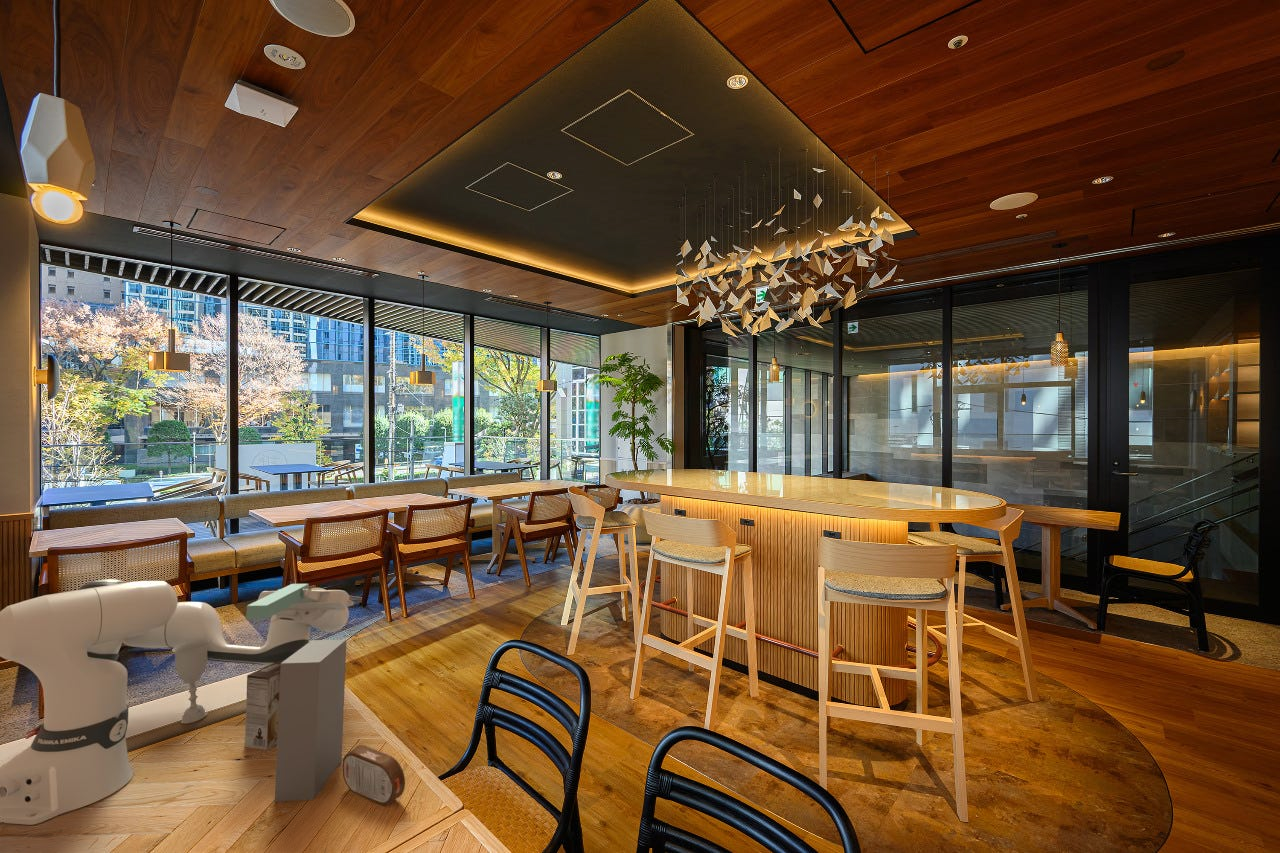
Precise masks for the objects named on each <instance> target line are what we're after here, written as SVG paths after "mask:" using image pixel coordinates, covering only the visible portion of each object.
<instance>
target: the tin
mask: <svg viewBox="0 0 1280 853" xmlns="http://www.w3.org/2000/svg"><path fill="white" fill-rule="evenodd" d="M342 758H343V759H342V778H343V782H344V783H345V785H346V786H347V788H348V789H349V791H351V792H352V793H354V794H356V795H357V796H360V797H363V798H365V799H367V800H368V801H371V802H374V803H375V804H378V805H380V806H388V805H390V804H391V803H392V802H394V801H395V800H396V799H397V798H398V799H399V798H400V797H401V796H402V795H403V793H404V791H405V787H406V777H405V773H404V770H403V767H402V766H401V765H400V763H399V761H398V760H397V759H396V758H395V757H394V756H392V755H390V754H388V753H385V752H382V751H380V750H378V749H375V748H372V747H370V746H367V745H364V744H359V745H357V746H355V747H354V748H353V749H351V750H350V751H348V752H347V753H346V754H345V756H344V757H342Z"/></svg>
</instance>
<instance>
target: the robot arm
mask: <svg viewBox="0 0 1280 853" xmlns="http://www.w3.org/2000/svg"><path fill="white" fill-rule="evenodd" d="M280 589H281V588H279V589H277V590H264V591H261V592H260V594H259V595H258V599H257V601H258V600H260V599H262V598H264V597H266V596H268V595H270V594H272V593H274V592H276V591H278V590H280ZM300 596H301V597H302V598H303V599H302V600H300V601H298V602H296V603H295V604H293V605H291V606H289V607H287V608H286V609H284V610H282V611H280V612H279V613H277V614H275V615H273V616H271V617H270V620H269V622H270V623H269V628H268V632H267V638H266V641H265V643H264V645H262V646H249V645H240V644H238V645H237V644H230V643H227V641H226V640H225V637H224V633H223V629H222V623H221V619H220V616H219V614H218V612H217V611H216V609H215V608H214V607H213V606H211V605H210V604H208V603H207V602H202V601H178V595H177V592H176V590H175V589H174V587H173V586H172V585H171V584H170V583H168V582H166V581H164V580H133V581H128V582H127V581H123V580H120V579H116V578H104V579H98V580H96V581H91V582H86V583H85V584H83V585H81V586H80V587H79V588H78V590H71V591H65V592H58V593H52V594H45V595H42V596H37V597H34V598H30V599H27V600H23V601H20V602H17V603H14V604H10V605H7V606H6V607H4V608H3V609H2V610H0V658H2V659H5V660H7V661H12V662H14V663H17V664H20V665H22V666H24V667H26V668H27V669H29V670H30V671H31V672H32V673H34V675H35V676H36V677H37V678H38V680H39V682H40V684H41V687H42V692H43V722H42V723H41V724H39V725H38V727H35V728H33V729H32V730H30V731H28V732H26V733H25V735H27V736H26V737H25V739H26V740H28V739H30V738H32V737H34V739H33V741H32V742H31V745H30V746H28V747H27V748H25V749H24V750H22V751H21V752H20V753H18V754H17V755H16V756H14V757H13V758H12V759H10V760H9V761H7V762H6V763H4V764H3V765H2V766H0V822H4V823H3V824H16V825H25V826H26V825H27V826H30V825H31V826H32V825H37V824H40V823H43V822H45V821H47V820H49V819H52V818H55V817H57V816H58V815H59V816H60V815H62V814H65V813H68V812H71V811H75V810H77V809H80V808H82V807H85V806H88V805H92V804H94V803H97V802H98V801H101V800H103V799H104V798H106V797H109V796H110V795H112V794H115V792H118V791H119V790H120V789H122V788H124V787H125V785H127V784H128V783H129V782H130V781H131V780H132V778H133V775H134V772H133V771H134V770H133V768H132V765H131V762H130V759H129V754H128V748H127V739H126V738H127V737H126V734H127V731H128V725H129V705H128V704H127V692H128V691H127V690H128V688H127V687H128V670H127V668H126V667H125V665H123V664H122V663H121V662H119V661H117V660H118V658H119V656H120V654H119V652H120V649H121V647H122V644H123V645H126V646H128V647H136V648H148V649H149V648H150V649H151V648H153V649H158V648H159V649H160V648H161V649H162V648H163V649H164V648H165V649H166V648H174V647H176V646H177V645H179V644H182V643H185V642H188V641H192V640H197V639H208V640H209V643H208V645H207V659H208V661H211V662H221V663H231V664H233V663H235V664H246V665H247V664H248V665H261V666H269V665H271V664H273V663H275V662H277V661H280V660H286V659H287V658H289V657H290V656H291V655H293V654H294V653H295V652H297V651H298V650H299V649H301V648H302V647H304V646H305V645H306V644H308V643H309V642H310V640H309V639H310V634H311V627H312V628H315V629H317V630H320V631H323V632H326V633H335V632H338V631H340V630H341V629H343V627H345V625H346V624H347V622H348V620H349V618H350V617H349V616H350V611H349V607H353V606H354V605H355V602H354V601H353V600H350V595H349V593H348V592H347V591H345V590H342V589H328V590H327V589H324V588H323V587H322V588H321V587H313V588H309V589H302V590H301V593H300Z"/></svg>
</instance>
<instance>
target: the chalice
mask: <svg viewBox="0 0 1280 853" xmlns="http://www.w3.org/2000/svg"><path fill="white" fill-rule="evenodd" d="M208 643H209V640H208V639H197V640H192V641H188V642H185V643H182V644H179V645H177V646H176V647H172V649H171V651H172V653H173V654H174V657H175V658H174V662H175V664H174V665H175V671H176V673H177V675H178V676H179V678H180V679H181V680H182V681H183V682H184V684H186V685H188V684H189V686H190V687H189V690H188V693H189V694H190V695H189V698H188V700H189V702H190V706H189V707H187V708H186V709H185V710H184V712H183V715H182V717H181V719H182V721H181V720H180V721H181V722H180V723H181V724H190V723H194V722H198V721H200V720H202V719H204V718H205V717H206V716H207V715H208V712H207V711H206V709H205V707H204V706H203V705H201V704H198V703H197V698H199V697H198V695H197V694H196V692H197V690H198V689H197V687H196V683H197V682H199V681H200V679H201V678H202V676H203V674H204V672H205V669H206V666H207V664H208V661H209V660H208V659H207V645H208ZM205 711H206V712H207V713H206V712H205Z"/></svg>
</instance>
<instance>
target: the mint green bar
mask: <svg viewBox="0 0 1280 853" xmlns="http://www.w3.org/2000/svg"><path fill="white" fill-rule="evenodd" d="M309 587H310V585H309V583H291V584H289V585H286V586H285V587H282V588H279V589H280V590H278V589H277V590H275V591H276V592H274V593H272V594H270V595H268V596H266V597H264V598H262V599H260V600H258V599H257V600H256V601H254V602H251V603H249V604H248V605H246V615H245V616H246V619H245V620H246V621H249V620H251V621H253V620H254V621H255V620H259V621H260V620H268V619H271V616H273V615H275V614H277V613H279V612H280V611H282V610H284V609H286V608H287V607H289V606H291V605H293V604H295V603H296V602H298V601H300V600H302V599H303V598H302V597H301V596H300V593H301V590H302V589H310V588H309Z"/></svg>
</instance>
